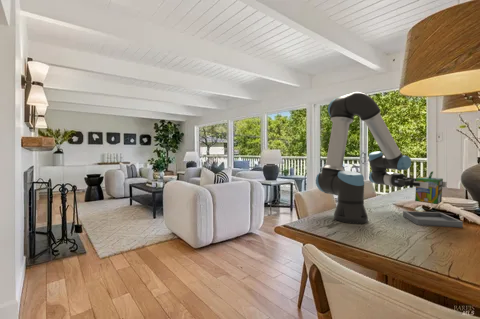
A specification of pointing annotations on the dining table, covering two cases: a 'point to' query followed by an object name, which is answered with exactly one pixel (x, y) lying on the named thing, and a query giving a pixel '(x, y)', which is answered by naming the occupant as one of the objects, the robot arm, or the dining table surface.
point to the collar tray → (432, 219)
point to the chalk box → (429, 190)
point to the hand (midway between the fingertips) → (437, 185)
